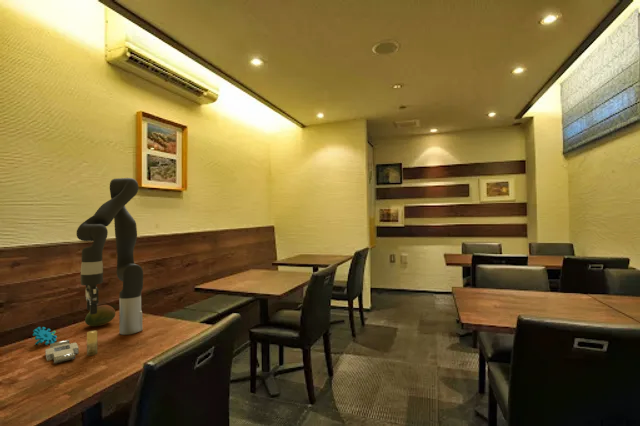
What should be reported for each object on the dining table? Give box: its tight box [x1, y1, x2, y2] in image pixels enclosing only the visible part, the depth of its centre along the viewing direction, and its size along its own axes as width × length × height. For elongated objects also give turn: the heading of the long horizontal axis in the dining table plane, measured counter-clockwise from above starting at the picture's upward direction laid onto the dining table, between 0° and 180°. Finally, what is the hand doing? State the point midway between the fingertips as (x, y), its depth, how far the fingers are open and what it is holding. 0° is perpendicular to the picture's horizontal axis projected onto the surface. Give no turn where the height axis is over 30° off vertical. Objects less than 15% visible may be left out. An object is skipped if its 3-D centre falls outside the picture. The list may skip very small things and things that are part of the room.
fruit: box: [84, 304, 116, 327], centre depth 167 cm, size 12×13×10 cm
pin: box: [86, 330, 98, 357], centre depth 132 cm, size 4×4×9 cm
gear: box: [32, 326, 58, 346], centre depth 143 cm, size 11×6×10 cm
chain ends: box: [45, 339, 80, 365], centre depth 132 cm, size 10×22×3 cm, turn 43°
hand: (91, 311), depth 132 cm, fingers open, 8 cm apart
